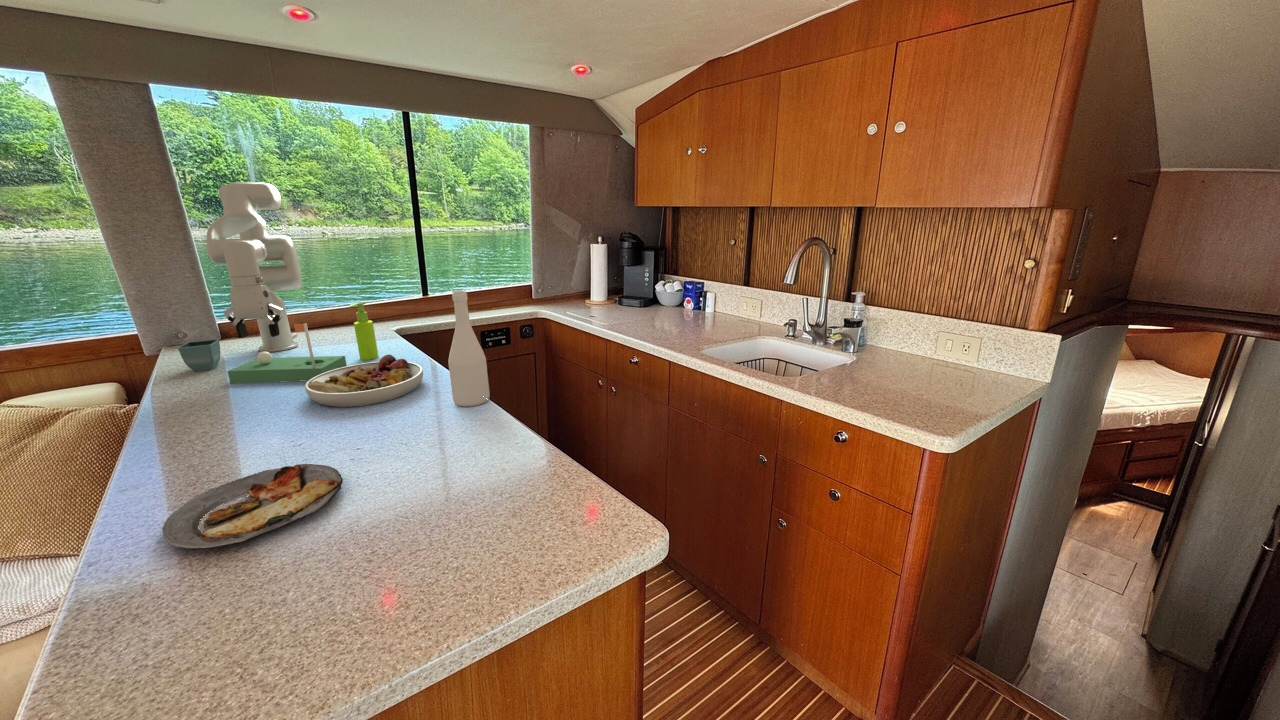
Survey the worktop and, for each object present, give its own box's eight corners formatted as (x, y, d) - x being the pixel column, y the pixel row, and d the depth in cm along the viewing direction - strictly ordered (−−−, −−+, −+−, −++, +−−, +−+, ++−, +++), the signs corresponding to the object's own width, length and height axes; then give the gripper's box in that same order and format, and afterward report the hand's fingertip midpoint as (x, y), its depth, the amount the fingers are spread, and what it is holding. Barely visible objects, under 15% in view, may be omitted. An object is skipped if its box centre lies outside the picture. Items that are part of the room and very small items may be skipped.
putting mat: (261, 369, 166) (248, 316, 161) (347, 367, 168) (337, 314, 162) (230, 383, 153) (215, 326, 148) (324, 380, 154) (312, 323, 149)
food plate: (317, 461, 103) (313, 445, 102) (366, 500, 89) (362, 483, 88) (155, 520, 85) (148, 502, 84) (184, 581, 71) (176, 561, 70)
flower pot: (194, 367, 170) (186, 341, 167) (225, 363, 174) (219, 338, 171) (184, 374, 162) (176, 347, 160) (217, 370, 166) (210, 344, 163)
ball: (263, 362, 160) (261, 350, 159) (276, 361, 161) (273, 349, 160) (255, 365, 157) (252, 353, 155) (268, 365, 157) (265, 353, 156)
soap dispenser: (353, 360, 176) (343, 304, 170) (369, 354, 182) (359, 300, 177) (367, 361, 174) (357, 304, 169) (382, 355, 181) (373, 301, 175)
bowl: (394, 411, 130) (390, 383, 128) (282, 411, 131) (275, 383, 128) (441, 375, 159) (437, 351, 156) (348, 376, 159) (344, 352, 157)
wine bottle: (467, 410, 129) (453, 295, 120) (446, 402, 135) (431, 292, 126) (497, 399, 136) (486, 290, 128) (476, 392, 142) (464, 288, 133)
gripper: (283, 279, 155) (295, 333, 160) (226, 281, 154) (239, 334, 159) (267, 282, 148) (280, 338, 153) (207, 284, 147) (221, 340, 152)
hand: (259, 336), depth 156 cm, fingers open, 9 cm apart
